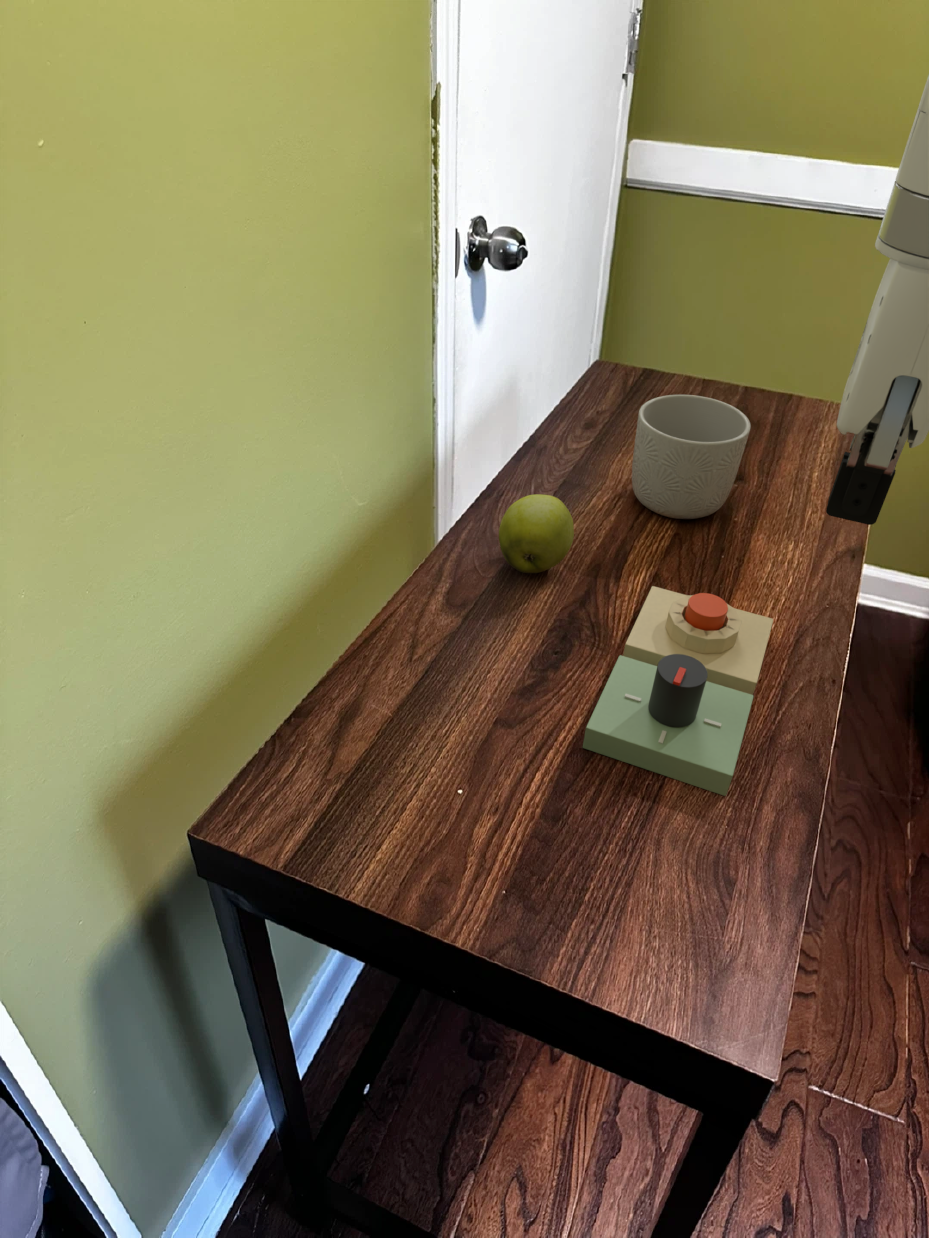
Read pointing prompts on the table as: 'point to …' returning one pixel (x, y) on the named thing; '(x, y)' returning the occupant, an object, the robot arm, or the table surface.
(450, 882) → the table surface
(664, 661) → the dial
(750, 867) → the table surface
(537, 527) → the apple
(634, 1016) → the table surface
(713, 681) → the button base
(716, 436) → the planter
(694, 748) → the dial base
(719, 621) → the stop button
